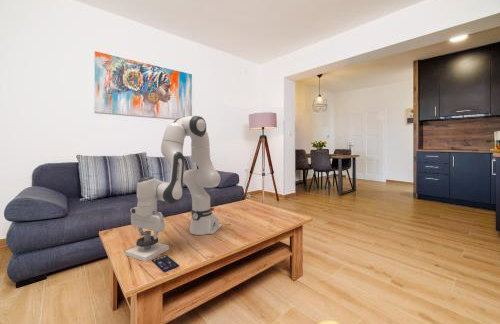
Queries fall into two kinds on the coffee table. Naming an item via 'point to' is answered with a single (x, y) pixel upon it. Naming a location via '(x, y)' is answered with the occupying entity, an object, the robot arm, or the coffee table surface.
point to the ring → (141, 242)
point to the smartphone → (165, 263)
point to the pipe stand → (147, 249)
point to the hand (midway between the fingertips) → (148, 237)
